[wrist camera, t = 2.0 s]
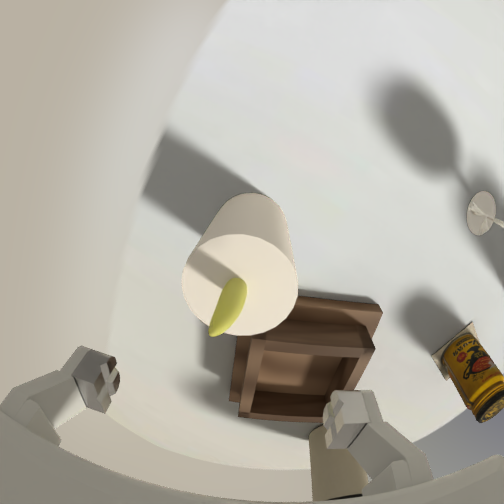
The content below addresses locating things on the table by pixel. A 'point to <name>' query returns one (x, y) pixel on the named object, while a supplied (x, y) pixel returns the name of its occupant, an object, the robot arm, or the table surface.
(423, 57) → the table surface
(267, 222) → the candle
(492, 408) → the condiment
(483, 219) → the wineglass
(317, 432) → the travel mug
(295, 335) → the candle holder
